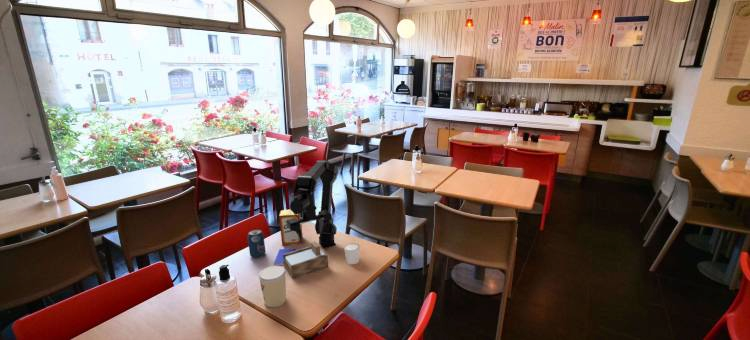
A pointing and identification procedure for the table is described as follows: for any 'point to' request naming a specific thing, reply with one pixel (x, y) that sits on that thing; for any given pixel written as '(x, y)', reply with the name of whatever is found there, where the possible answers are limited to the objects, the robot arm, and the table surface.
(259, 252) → the soda can
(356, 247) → the shot glass
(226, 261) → the table surface
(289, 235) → the baking soda box
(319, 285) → the table surface
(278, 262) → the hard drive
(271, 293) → the coffee cup
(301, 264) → the wooden box
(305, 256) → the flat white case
